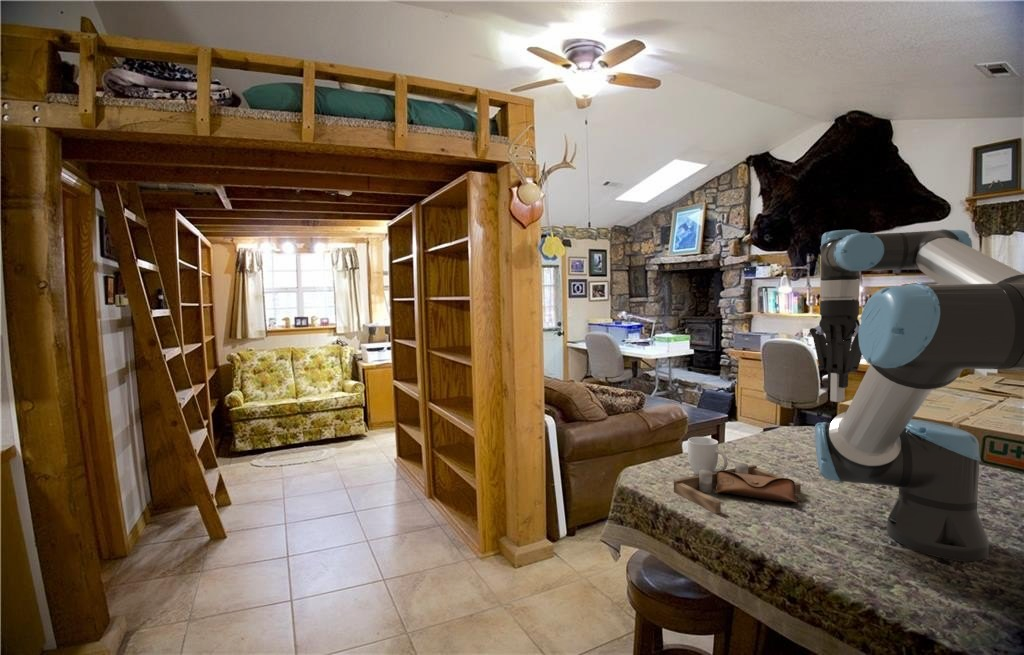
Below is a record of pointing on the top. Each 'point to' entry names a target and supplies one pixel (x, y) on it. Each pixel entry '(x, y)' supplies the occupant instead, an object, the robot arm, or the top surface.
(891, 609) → the top surface
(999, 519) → the top surface
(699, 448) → the mug
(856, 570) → the top surface
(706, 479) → the rail board
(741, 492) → the sunglasses case
